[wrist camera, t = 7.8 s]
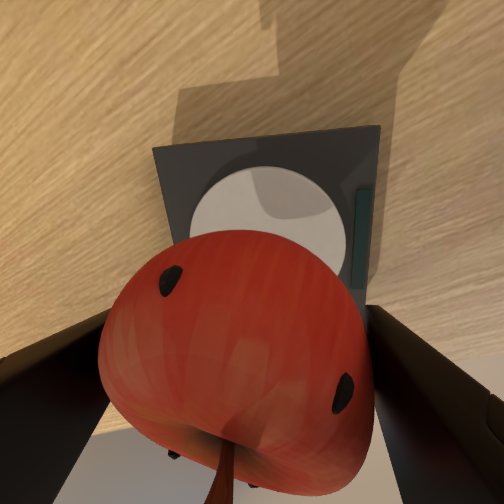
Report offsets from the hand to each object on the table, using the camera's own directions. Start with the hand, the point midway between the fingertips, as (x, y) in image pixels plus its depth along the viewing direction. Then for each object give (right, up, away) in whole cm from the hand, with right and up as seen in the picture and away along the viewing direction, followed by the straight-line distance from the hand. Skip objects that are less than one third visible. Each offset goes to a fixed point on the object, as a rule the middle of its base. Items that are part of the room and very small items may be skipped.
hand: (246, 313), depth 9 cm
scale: (+1, +3, +7) cm, 8 cm away
